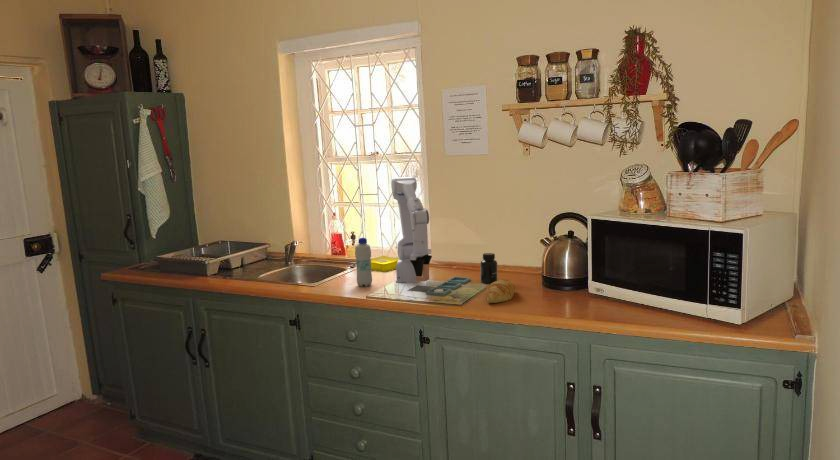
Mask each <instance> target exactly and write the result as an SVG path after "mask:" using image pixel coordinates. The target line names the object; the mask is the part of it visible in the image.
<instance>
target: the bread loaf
mask: <svg viewBox="0 0 840 460" xmlns="http://www.w3.org/2000/svg"><path fill="white" fill-rule="evenodd" d="M486 289H487V290H486V302H487V303H488V304H496V303H503V302H508V301H511V300H512V299H513V298H514V297H515V296H514V295H515V292H516V291H515V285H514V284H513V283H512V282H511V281H508V279H497V281H495V282H493V283H491V284H488V286H487V287H486Z"/></svg>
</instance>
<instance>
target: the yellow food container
mask: <svg viewBox="0 0 840 460" xmlns="http://www.w3.org/2000/svg"><path fill="white" fill-rule="evenodd" d="M399 260H400V259H399V257H398V256H397V257H396V256H388V255H381V256H378V257H377V256H376V257H373V258H371V271H375V272H380V273H381V272H383V273H384V272H385V273H386V272H390V271H394V270H396V265H397V262H398V261H399Z"/></svg>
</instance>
